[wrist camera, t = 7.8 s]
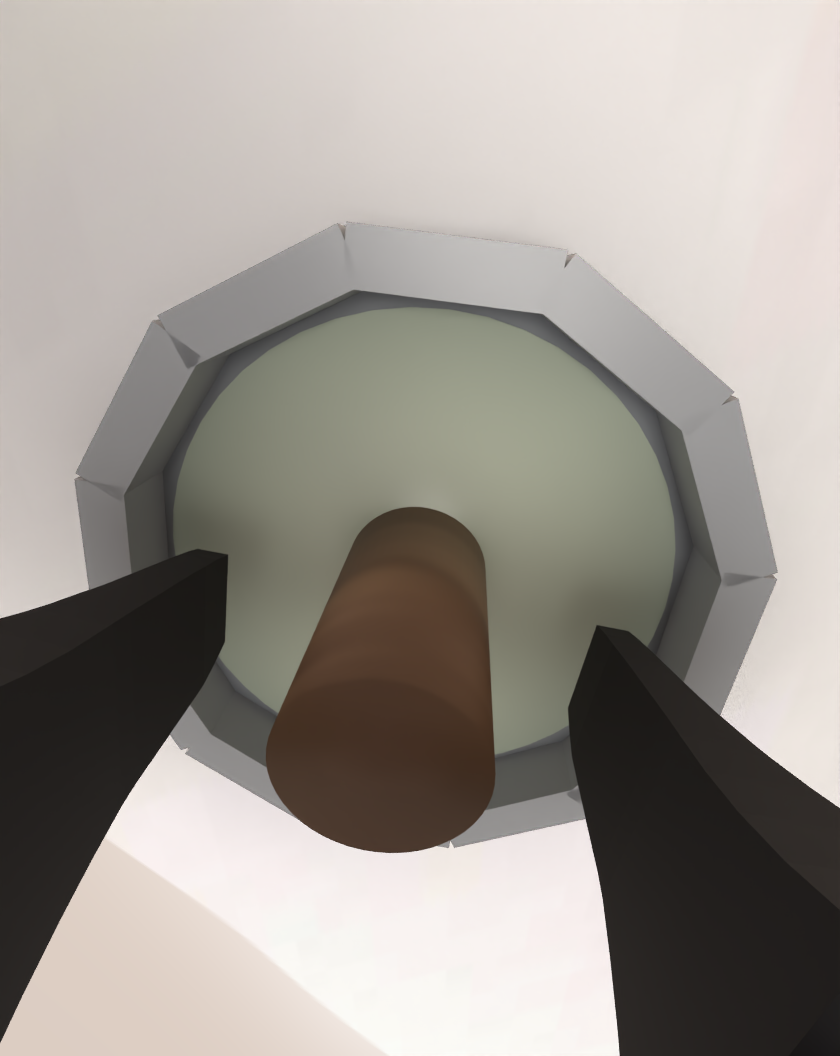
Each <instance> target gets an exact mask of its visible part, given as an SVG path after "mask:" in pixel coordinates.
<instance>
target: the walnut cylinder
mask: <svg viewBox="0 0 840 1056" xmlns="http://www.w3.org/2000/svg"><path fill="white" fill-rule="evenodd" d="M266 765H267V772H268V775H269V778H270V781H271V784H272V786H273V788H274V790H275V792H276V794H277V795H278V797H279V798H280V800H281V801H282V803H283V804H284V805H285V806H286V807H287V808H288V810H289V811H290V812H291V813H292V814H293V815H294V816H295V817H297V818H298V819H299V820H300V821H301V822H302V823H304V824H305V825H307V826H308V827H309V828H311V829H312V830H314V831H316V832H317V833H319V834H321V835H322V836H324V837H327V838H329V839H331V840H333V841H335V842H338V843H341V844H344V845H346V846H350V847H354V848H357V849H361V850H367V851H373V852H385V853H404V852H412V851H419V850H424V849H428V848H432V847H435V846H438V845H441V844H443V843H446V842H448V841H450V840H452V839H454V838H456V837H457V836H459V835H460V834H462V833H464V832H465V831H466V830H467V829H469V828H470V827H471V826H472V825H473V824H474V823H475V822H476V821H477V820H478V819H479V818H480V817H481V816H482V814H483V813H484V811H485V810H486V808H487V806H488V804H489V802H490V800H491V797H492V795H493V791H494V786H495V775H496V772H495V752H494V731H493V711H492V691H491V671H490V651H489V631H488V610H487V590H486V570H485V561H484V557H483V553H482V550H481V548H480V546H479V544H478V542H477V540H476V539H475V537H474V536H473V535H472V533H471V532H470V531H469V530H468V529H467V528H466V527H465V526H464V525H463V524H462V523H460V522H459V521H458V520H456V519H455V518H453V517H451V516H449V515H448V514H445V513H443V512H440V511H437V510H434V509H430V508H424V507H404V508H399V509H394V510H391V511H388V512H385V513H383V514H381V515H379V516H378V517H376V518H374V519H373V520H372V521H370V522H369V523H368V524H367V525H366V526H365V527H364V528H363V529H362V530H361V531H360V533H359V534H358V535H357V537H356V539H355V540H354V542H353V545H352V547H351V549H350V552H349V554H348V556H347V558H346V561H345V563H344V565H343V567H342V570H341V572H340V574H339V577H338V579H337V581H336V583H335V586H334V588H333V590H332V593H331V595H330V597H329V599H328V602H327V604H326V606H325V608H324V611H323V613H322V615H321V618H320V620H319V622H318V624H317V627H316V629H315V631H314V633H313V636H312V638H311V640H310V643H309V645H308V647H307V649H306V652H305V654H304V656H303V658H302V661H301V663H300V665H299V668H298V670H297V672H296V674H295V677H294V679H293V681H292V684H291V686H290V688H289V690H288V693H287V695H286V697H285V699H284V702H283V704H282V706H281V709H280V711H279V713H278V715H277V718H276V720H275V722H274V724H273V727H272V729H271V732H270V734H269V737H268V741H267V746H266Z"/></svg>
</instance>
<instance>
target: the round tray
mask: <svg viewBox="0 0 840 1056" xmlns="http://www.w3.org/2000/svg"><path fill="white" fill-rule="evenodd" d="M567 252H568V250H567V249H559V248H551V247H543V246H535V245H527V244H519V243H511V242H503V241H495V240H487V239H479V238H471V237H463V236H455V235H448V234H440V233H432V232H424V231H416V230H408V229H400V228H392V227H384V226H376V225H368V224H360V223H352V222H346V226H343V225H341V224H338V223H337V224H335V225H333V226H331V227H329V228H327V229H325V230H323V231H321V232H319V233H318V234H316V235H314V236H312V237H310V238H308V239H306V240H304V241H302V242H300V243H298V244H296V245H294V246H292V247H290V248H288V249H286V250H284V251H282V252H280V253H278V254H277V255H275V256H273V257H271V258H269V259H267V260H265V261H263V262H261V263H259V264H257V265H255V266H253V267H251V268H249V269H247V270H245V271H243V272H241V273H239V274H237V275H236V276H234V277H232V278H230V279H228V280H226V281H224V282H222V283H220V284H218V285H216V286H214V287H212V288H210V289H208V290H206V291H204V292H202V293H200V294H198V295H196V296H195V297H193V298H191V299H189V300H187V301H185V302H183V303H181V304H179V305H177V306H175V307H173V308H171V309H169V310H167V311H165V312H163V313H161V314H159V315H158V317H159V319H160V320H155V321H152V322H151V324H150V326H149V328H148V330H147V332H146V334H145V336H144V338H143V340H142V342H141V344H140V346H139V348H138V350H137V352H136V354H135V356H134V358H133V360H132V362H131V364H130V366H129V368H128V370H127V372H126V374H125V376H124V378H123V380H122V382H121V384H120V386H119V388H118V390H117V392H116V394H115V396H114V398H113V400H112V402H111V404H110V406H109V408H108V410H107V412H106V414H105V416H104V418H103V420H102V422H101V424H100V425H99V427H98V429H97V431H96V433H95V435H94V437H93V439H92V441H91V443H90V445H89V447H88V449H87V451H86V453H85V455H84V457H83V459H82V461H81V463H80V465H79V467H78V469H77V471H76V474H78V475H79V476H80V477H78V478H76V479H75V486H76V494H77V502H78V509H79V517H80V524H81V532H82V539H83V547H84V554H85V562H86V569H87V577H88V584H89V590H90V589H93V588H96V587H99V586H101V585H104V584H107V583H109V582H112V581H114V580H117V579H119V578H122V577H124V576H127V575H129V574H132V573H134V572H137V571H139V570H142V569H144V568H147V567H149V566H152V565H154V564H157V563H159V562H162V561H164V560H167V559H169V558H172V557H174V556H177V555H180V554H182V553H185V552H188V551H191V550H195V549H202V550H207V551H212V552H218V553H223V554H228V576H227V604H226V631H225V643H224V645H223V647H222V649H221V651H220V654H219V656H218V658H217V660H216V662H215V664H214V666H213V668H212V670H211V672H210V674H209V675H208V677H207V679H206V681H205V683H204V685H203V687H202V688H201V690H200V691H199V693H198V694H197V696H196V697H195V698H194V700H193V701H192V703H191V704H190V706H189V707H188V709H187V710H186V712H185V713H184V715H183V716H182V718H181V719H180V720H179V722H178V723H177V725H176V726H175V728H174V729H173V730H172V732H171V733H170V735H171V737H172V738H173V740H174V741H175V742H176V744H177V745H178V746H179V748H180V749H181V750H183V749H186V748H188V750H187V752H186V753H185V754H187V755H188V756H190V757H192V758H194V759H195V760H197V761H199V762H200V763H202V764H204V765H206V766H207V767H209V768H211V769H212V770H214V771H216V772H218V773H219V774H221V775H223V776H224V777H226V778H228V779H230V780H231V781H233V782H235V783H236V784H238V785H240V786H242V787H243V788H245V789H247V790H248V791H250V792H252V793H254V794H255V795H257V796H259V797H260V798H262V799H264V800H266V801H267V802H269V803H271V804H272V805H274V806H276V807H278V808H279V809H281V810H283V811H284V812H286V813H288V814H290V815H291V816H293V817H295V816H294V815H293V814H292V813H291V812H290V811H289V810H288V808H287V807H286V806H285V805H284V804H283V803H282V801H281V800H280V798H279V797H278V795H277V794H276V792H275V790H274V788H273V786H272V784H271V781H270V778H269V775H268V772H267V765H266V746H267V741H268V737H269V734H270V732H271V729H272V727H273V724H274V722H275V720H276V718H277V715H278V713H279V711H280V709H281V706H282V704H283V702H284V699H285V697H286V695H287V693H288V690H289V688H290V686H291V684H292V681H293V679H294V677H295V674H296V672H297V670H298V668H299V665H300V663H301V661H302V658H303V656H304V654H305V652H306V649H307V647H308V645H309V643H310V640H311V638H312V636H313V633H314V631H315V629H316V627H317V624H318V622H319V620H320V618H321V615H322V613H323V611H324V608H325V606H326V604H327V602H328V599H329V597H330V595H331V593H332V590H333V588H334V586H335V583H336V581H337V579H338V577H339V574H340V572H341V570H342V567H343V565H344V563H345V561H346V558H347V556H348V554H349V552H350V549H351V547H352V545H353V542H354V540H355V539H356V537H357V535H358V534H359V533H360V531H361V530H362V529H363V528H364V527H365V526H366V525H367V524H368V523H369V522H370V521H372V520H373V519H374V518H376V517H378V516H379V515H381V514H383V513H385V512H388V511H391V510H394V509H399V508H404V507H424V508H430V509H434V510H437V511H440V512H443V513H445V514H448V515H449V516H451V517H453V518H455V519H456V520H458V521H459V522H460V523H462V524H463V525H464V526H465V527H466V528H467V529H468V530H469V531H470V532H471V533H472V535H473V536H474V537H475V539H476V540H477V542H478V544H479V546H480V548H481V550H482V553H483V557H484V561H485V570H486V590H487V610H488V631H489V651H490V671H491V691H492V711H493V731H494V752H495V772H496V775H495V786H494V791H493V795H492V797H491V800H490V802H489V804H488V806H487V808H486V810H485V811H484V813H483V814H482V816H481V817H480V818H479V819H478V820H477V821H476V822H475V823H474V824H473V825H472V826H471V827H470V828H469V829H467V830H466V831H465V832H464V833H462V834H460V835H459V836H457V837H456V838H454V839H452V840H450V841H451V843H452V844H453V846H454V848H455V847H460V846H464V845H469V844H474V843H478V842H483V841H487V840H492V839H496V838H501V837H505V836H510V835H514V834H519V833H523V832H528V831H532V830H537V829H541V828H546V827H551V826H555V825H560V824H564V823H569V822H573V821H578V820H582V819H586V818H585V814H584V809H583V805H582V801H581V796H580V792H579V787H578V783H577V778H576V774H575V769H574V764H573V760H572V753H571V743H570V733H569V719H568V706H569V703H570V700H571V697H572V694H573V692H574V689H575V686H576V683H577V680H578V677H579V674H580V672H581V669H582V666H583V663H584V660H585V657H586V654H587V651H588V649H589V646H590V643H591V640H592V637H593V634H594V631H595V629H596V626H597V625H600V626H605V627H610V628H615V629H621V630H626V631H629V632H630V633H632V634H633V635H634V636H635V637H636V638H638V639H639V640H640V641H641V642H642V643H643V644H644V645H645V646H646V647H648V648H649V649H650V650H651V651H652V652H653V653H654V654H655V655H656V656H657V657H658V658H659V659H660V660H661V661H662V662H663V663H664V664H665V665H666V666H667V667H669V668H670V669H671V670H672V671H673V672H674V673H675V674H676V675H677V676H678V677H679V678H680V679H681V680H682V681H683V682H684V683H685V684H686V685H687V686H688V687H689V688H691V689H692V690H693V691H694V692H695V693H696V694H697V695H698V696H699V697H700V698H701V699H702V700H703V701H704V702H706V703H707V704H708V705H709V706H710V707H711V708H712V709H713V710H714V711H715V712H717V713H718V714H719V715H720V714H721V712H722V709H723V707H724V705H725V702H726V700H727V698H728V695H729V693H730V690H731V688H732V686H733V683H734V681H735V678H736V676H737V674H738V671H739V669H740V667H741V664H742V662H743V659H744V657H745V655H746V652H747V650H748V648H749V645H750V643H751V640H752V638H753V636H754V633H755V631H756V628H757V626H758V624H759V621H760V619H761V617H762V614H763V612H764V609H765V607H766V605H767V602H768V600H769V597H770V595H771V593H772V590H773V588H774V586H775V583H776V581H777V579H776V578H775V577H774V576H773V575H772V574H775V573H778V572H777V567H776V563H775V558H774V554H773V549H772V545H771V541H770V536H769V532H768V527H767V523H766V519H765V514H764V510H763V505H762V501H761V496H760V492H759V488H758V483H757V479H756V474H755V470H754V465H753V461H752V457H751V452H750V448H749V443H748V439H747V435H746V430H745V426H744V421H743V417H742V412H741V408H740V404H739V399H738V398H736V397H734V396H731V395H732V394H733V393H734V391H733V390H732V389H730V388H729V387H728V386H727V385H726V384H725V383H724V382H722V381H721V380H720V379H719V378H718V377H717V376H716V375H714V374H713V373H712V372H711V371H710V370H709V369H708V368H706V367H705V366H704V365H703V364H702V363H701V362H700V361H698V360H697V359H696V358H695V357H694V356H693V355H692V354H691V353H689V352H688V351H687V350H686V349H685V348H684V347H683V346H681V345H680V344H679V343H678V342H677V341H676V340H675V339H673V338H672V337H671V336H670V335H669V334H668V333H667V332H665V331H664V330H663V329H662V328H661V327H660V326H659V325H657V324H656V323H655V322H654V321H653V320H652V319H651V318H649V317H648V316H647V315H646V314H645V313H644V312H643V311H641V310H640V309H639V308H638V307H637V306H636V305H635V304H633V303H632V302H631V301H630V300H629V299H628V298H627V297H625V296H624V295H623V294H622V293H621V292H620V291H619V290H617V289H616V288H615V287H614V286H613V285H612V284H611V283H609V282H608V281H607V280H606V279H605V278H604V277H603V276H601V275H600V274H599V273H598V272H597V271H596V270H595V269H593V268H592V267H591V266H590V265H589V264H588V263H587V262H585V261H584V260H583V259H582V258H581V257H580V256H579V255H577V254H571V255H567ZM295 818H296V819H298V818H297V817H295ZM298 820H299V819H298ZM450 841H448V842H446V843H443V844H441V845H438V846H440V847H446V848H449V844H450Z"/></svg>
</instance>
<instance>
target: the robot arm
mask: <svg viewBox="0 0 840 1056" xmlns="http://www.w3.org/2000/svg"><path fill="white" fill-rule="evenodd" d="M227 576H228V554H223V553H218V552H212V551H207V550H202V549H195V550H191V551H188V552H185V553H182V554H180V555H177V556H174V557H172V558H169V559H167V560H164V561H162V562H159V563H157V564H154V565H152V566H149V567H147V568H144V569H142V570H139V571H137V572H134V573H132V574H129V575H127V576H124V577H122V578H119V579H117V580H114V581H112V582H109V583H107V584H104V585H101V586H99V587H96V588H93V589H90V590H87V591H85V592H82V593H79V594H76V595H73V596H71V597H68V598H65V599H62V600H59V601H57V602H54V603H51V604H48V605H45V606H42V607H39V608H35V609H32V610H29V611H25V612H22V613H19V614H15V615H12V616H8V617H4V618H1V619H0V1042H1V1040H2V1038H3V1036H4V1034H5V1032H6V1029H7V1027H8V1025H9V1023H10V1021H11V1019H12V1017H13V1015H14V1012H15V1010H16V1008H17V1006H18V1004H19V1002H20V1000H21V998H22V995H23V993H24V991H25V989H26V987H27V985H28V983H29V981H30V979H31V977H32V975H33V973H34V971H35V969H36V967H37V965H38V963H39V961H40V959H41V957H42V955H43V953H44V951H45V949H46V947H47V945H48V943H49V941H50V939H51V937H52V935H53V933H54V931H55V929H56V927H57V925H58V923H59V921H60V919H61V917H62V915H63V913H64V912H65V910H66V908H67V906H68V904H69V902H70V900H71V898H72V896H73V894H74V893H75V891H76V889H77V887H78V885H79V883H80V881H81V879H82V877H83V876H84V874H85V872H86V870H87V868H88V866H89V864H90V862H91V860H92V858H93V857H94V855H95V853H96V851H97V849H98V848H99V846H100V844H101V842H102V840H103V839H104V837H105V835H106V833H107V831H108V830H109V828H110V826H111V824H112V822H113V821H114V819H115V817H116V815H117V813H118V812H119V810H120V808H121V806H122V805H123V803H124V801H125V800H126V798H127V797H128V795H129V793H130V792H131V790H132V789H133V787H134V786H135V784H136V782H137V781H138V779H139V778H140V777H141V775H142V774H143V772H144V771H145V769H146V768H147V766H148V765H149V764H150V762H151V761H152V759H153V758H154V756H155V755H156V754H157V752H158V751H159V749H160V748H161V746H162V745H163V743H164V742H165V741H166V739H167V738H168V736H169V735H170V733H171V732H172V730H173V729H174V728H175V726H176V725H177V723H178V722H179V720H180V719H181V718H182V716H183V715H184V713H185V712H186V710H187V709H188V707H189V706H190V704H191V703H192V701H193V700H194V698H195V697H196V696H197V694H198V693H199V691H200V690H201V688H202V687H203V685H204V683H205V681H206V679H207V677H208V675H209V674H210V672H211V670H212V668H213V666H214V664H215V662H216V660H217V658H218V656H219V654H220V651H221V649H222V647H223V645H224V643H225V631H226V604H227ZM568 719H569V733H570V743H571V753H572V760H573V764H574V769H575V774H576V778H577V783H578V787H579V792H580V796H581V801H582V805H583V809H584V814H585V818H586V823H587V827H588V831H589V836H590V840H591V844H592V849H593V853H594V857H595V862H596V866H597V871H598V876H599V881H600V887H601V892H602V897H603V904H604V912H605V920H606V928H607V936H608V944H609V952H610V960H611V970H612V980H613V989H614V999H615V1008H616V1018H617V1027H618V1039H619V1051H620V1056H840V808H839V807H837V806H836V805H834V804H833V803H831V802H830V801H829V800H827V799H826V798H824V797H823V796H821V795H820V794H819V793H817V792H816V791H814V790H813V789H811V788H810V787H809V786H807V785H806V784H805V783H803V782H802V781H801V780H799V779H798V778H797V777H795V776H794V775H793V774H791V773H790V772H789V771H787V770H786V769H785V768H783V767H782V766H781V765H779V764H778V763H777V762H775V761H774V760H773V759H771V758H770V757H769V756H768V755H766V754H765V753H764V752H763V751H761V750H760V749H759V748H757V747H756V746H755V745H754V744H753V743H751V742H750V741H749V740H748V739H747V738H746V737H744V736H743V735H742V734H741V733H740V732H739V731H737V730H736V729H735V728H734V727H733V726H731V725H730V724H729V723H728V722H727V721H726V720H724V719H723V718H722V717H721V716H720V715H719V714H718V713H717V712H715V711H714V710H713V709H712V708H711V707H710V706H709V705H708V704H707V703H706V702H704V701H703V700H702V699H701V698H700V697H699V696H698V695H697V694H696V693H695V692H694V691H693V690H692V689H691V688H689V687H688V686H687V685H686V684H685V683H684V682H683V681H682V680H681V679H680V678H679V677H678V676H677V675H676V674H675V673H674V672H673V671H672V670H671V669H670V668H669V667H667V666H666V665H665V664H664V663H663V662H662V661H661V660H660V659H659V658H658V657H657V656H656V655H655V654H654V653H653V652H652V651H651V650H650V649H649V648H648V647H646V646H645V645H644V644H643V643H642V642H641V641H640V640H639V639H638V638H636V637H635V636H634V635H633V634H632V633H630V632H629V631H626V630H621V629H615V628H610V627H605V626H600V625H597V626H596V629H595V631H594V634H593V637H592V640H591V643H590V646H589V649H588V651H587V654H586V657H585V660H584V663H583V666H582V669H581V672H580V674H579V677H578V680H577V683H576V686H575V689H574V692H573V694H572V697H571V700H570V703H569V706H568Z"/></svg>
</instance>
